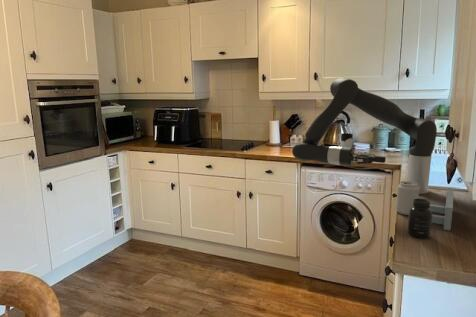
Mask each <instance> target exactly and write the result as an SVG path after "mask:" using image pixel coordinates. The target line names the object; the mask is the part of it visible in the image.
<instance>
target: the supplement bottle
mask: <svg viewBox="0 0 476 317" xmlns="http://www.w3.org/2000/svg"><path fill="white" fill-rule="evenodd" d="M430 204H431V202H430V200H428V199H426V198H418V199H414V201H413V207H411V208H410V210H409V215H408V222H407V235H409V236H410V237H412V238H414V239H418V240H428V239H429V238H430V237H431V231H432V224H433V223H432V215H433V212H432V211H431V210H430V209H429V208H430Z"/></svg>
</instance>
